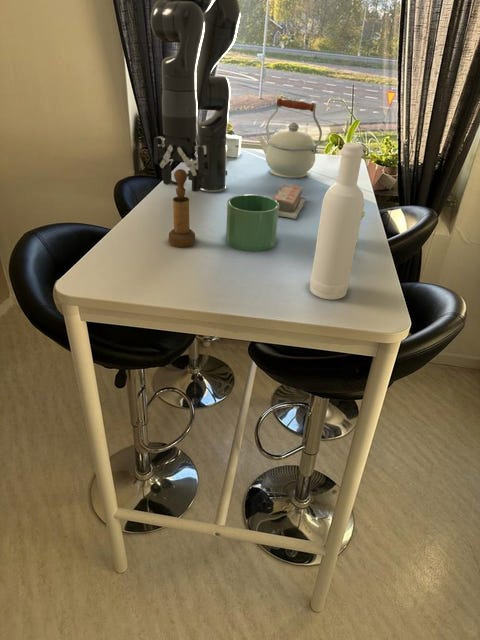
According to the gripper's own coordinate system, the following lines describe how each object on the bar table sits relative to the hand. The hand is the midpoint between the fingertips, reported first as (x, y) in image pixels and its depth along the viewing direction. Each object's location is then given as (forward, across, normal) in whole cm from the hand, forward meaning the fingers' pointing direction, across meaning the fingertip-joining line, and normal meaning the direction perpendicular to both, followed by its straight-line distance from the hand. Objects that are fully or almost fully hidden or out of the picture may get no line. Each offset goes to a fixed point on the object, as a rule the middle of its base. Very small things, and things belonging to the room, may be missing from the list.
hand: (181, 187), depth 108 cm
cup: (+14, -13, -12) cm, 22 cm away
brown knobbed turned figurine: (+14, 0, 0) cm, 14 cm away
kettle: (+14, +11, -75) cm, 77 cm away
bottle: (+14, -40, 0) cm, 42 cm away
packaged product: (+14, -8, -40) cm, 43 cm away
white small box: (+13, +40, -82) cm, 92 cm away
